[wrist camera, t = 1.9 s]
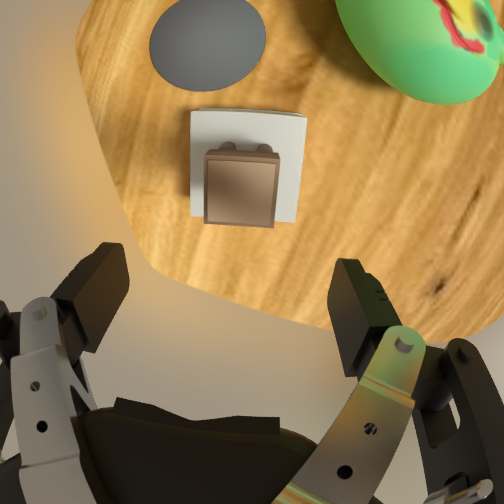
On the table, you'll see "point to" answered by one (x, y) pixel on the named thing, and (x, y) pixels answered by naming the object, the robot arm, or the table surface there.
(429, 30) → the toy bird
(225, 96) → the table surface
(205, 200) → the walnut stool
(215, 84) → the charcoal felt mat
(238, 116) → the white square box
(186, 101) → the table surface
